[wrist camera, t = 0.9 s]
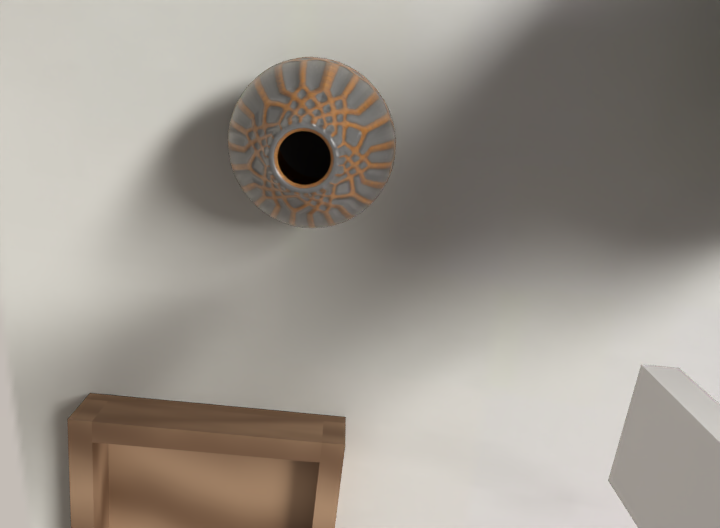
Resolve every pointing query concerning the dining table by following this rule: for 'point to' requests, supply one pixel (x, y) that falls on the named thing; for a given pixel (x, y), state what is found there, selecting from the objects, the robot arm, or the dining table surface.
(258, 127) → the vase
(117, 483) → the walnut tray
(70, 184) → the dining table surface
